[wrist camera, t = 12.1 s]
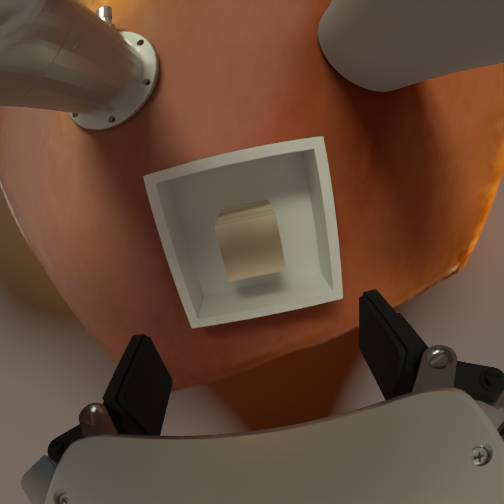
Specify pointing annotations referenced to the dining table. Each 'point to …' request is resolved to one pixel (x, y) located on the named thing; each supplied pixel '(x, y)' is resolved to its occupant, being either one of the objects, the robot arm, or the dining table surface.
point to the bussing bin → (238, 193)
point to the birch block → (249, 240)
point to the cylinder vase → (410, 39)
